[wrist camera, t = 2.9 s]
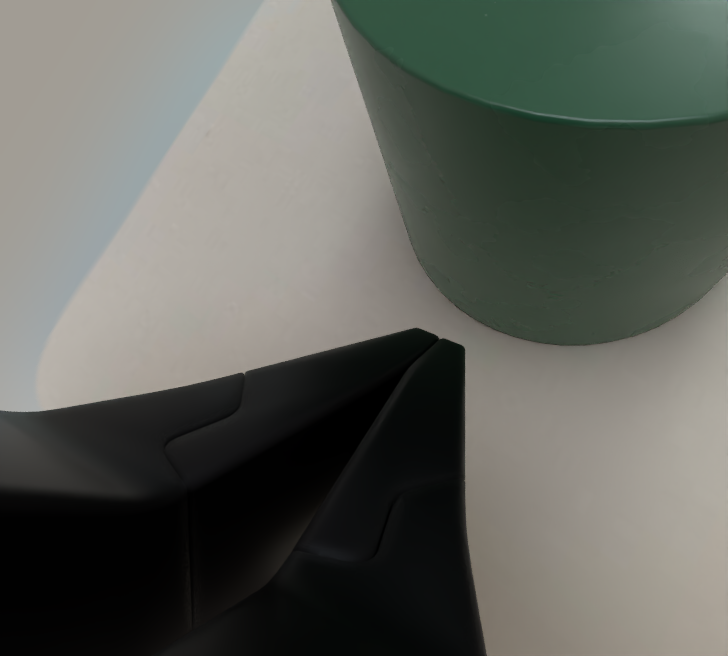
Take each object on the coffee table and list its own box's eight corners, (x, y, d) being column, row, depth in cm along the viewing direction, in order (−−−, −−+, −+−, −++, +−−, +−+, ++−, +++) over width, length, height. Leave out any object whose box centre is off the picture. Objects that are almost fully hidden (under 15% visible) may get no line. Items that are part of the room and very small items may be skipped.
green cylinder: (666, 407, 15) (945, 247, 6) (351, 265, 18) (198, 17, 9) (801, 107, 16) (1197, -410, 7) (488, 27, 20) (480, -396, 10)
